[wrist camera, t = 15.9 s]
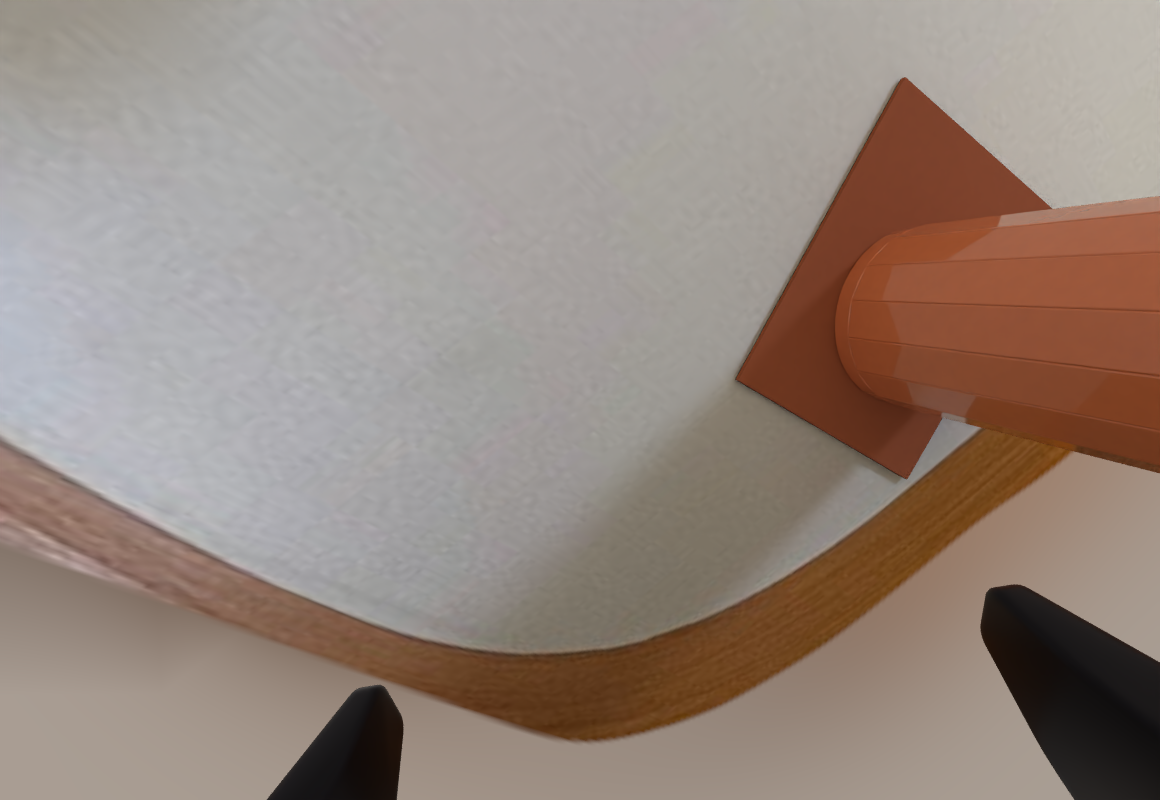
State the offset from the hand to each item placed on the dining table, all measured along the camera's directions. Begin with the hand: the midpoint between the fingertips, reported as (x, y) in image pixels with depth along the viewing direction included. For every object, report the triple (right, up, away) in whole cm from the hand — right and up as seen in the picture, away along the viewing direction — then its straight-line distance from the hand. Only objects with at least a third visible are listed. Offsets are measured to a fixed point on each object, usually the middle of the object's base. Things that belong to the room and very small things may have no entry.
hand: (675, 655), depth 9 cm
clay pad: (+11, +8, +14) cm, 19 cm away
